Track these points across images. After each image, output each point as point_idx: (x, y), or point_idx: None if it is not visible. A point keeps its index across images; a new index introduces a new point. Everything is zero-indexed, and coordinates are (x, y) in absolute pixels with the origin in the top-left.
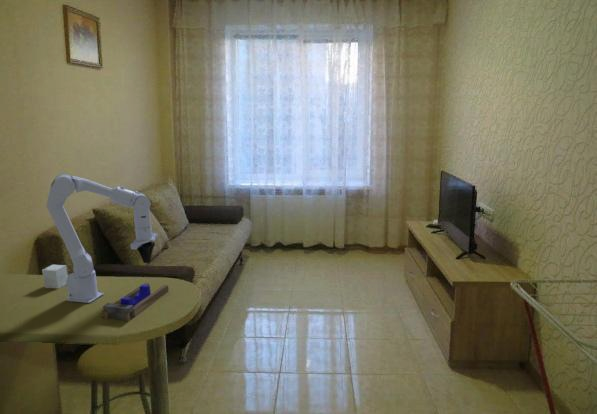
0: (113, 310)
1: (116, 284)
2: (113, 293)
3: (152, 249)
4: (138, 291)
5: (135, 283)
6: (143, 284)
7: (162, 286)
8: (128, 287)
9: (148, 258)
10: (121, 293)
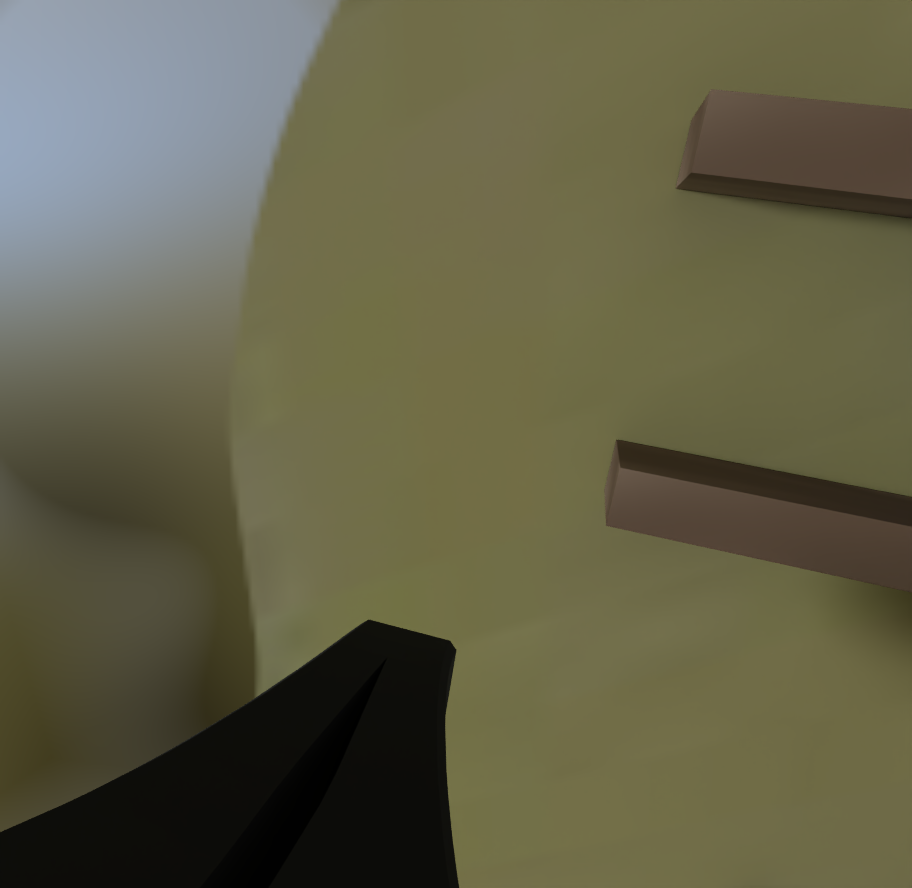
0: None
1: (456, 836)
2: (716, 808)
3: (18, 846)
4: (910, 520)
5: None
6: (666, 528)
7: (789, 165)
8: (537, 703)
9: (437, 718)
10: (723, 729)
